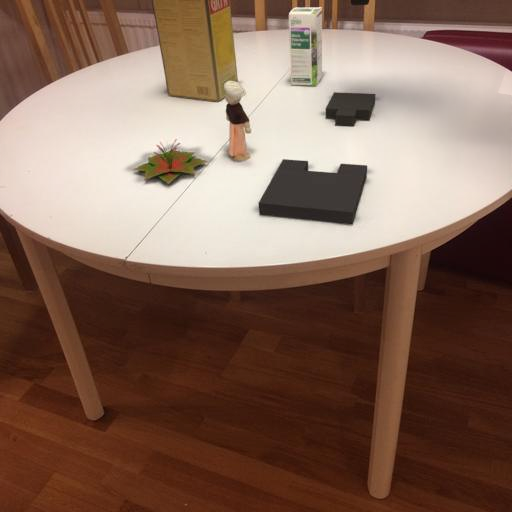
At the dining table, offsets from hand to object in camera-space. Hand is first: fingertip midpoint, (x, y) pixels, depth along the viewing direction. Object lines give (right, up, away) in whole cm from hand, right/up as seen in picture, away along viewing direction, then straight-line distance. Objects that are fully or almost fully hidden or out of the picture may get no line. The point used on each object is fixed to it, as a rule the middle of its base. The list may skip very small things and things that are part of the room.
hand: (361, 0), depth 95 cm
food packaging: (-31, -11, +19) cm, 37 cm away
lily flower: (-33, -32, -9) cm, 47 cm away
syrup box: (-8, -9, +19) cm, 22 cm away
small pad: (-2, -20, +3) cm, 20 cm away
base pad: (-11, -38, -19) cm, 44 cm away
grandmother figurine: (-22, -30, -7) cm, 38 cm away
